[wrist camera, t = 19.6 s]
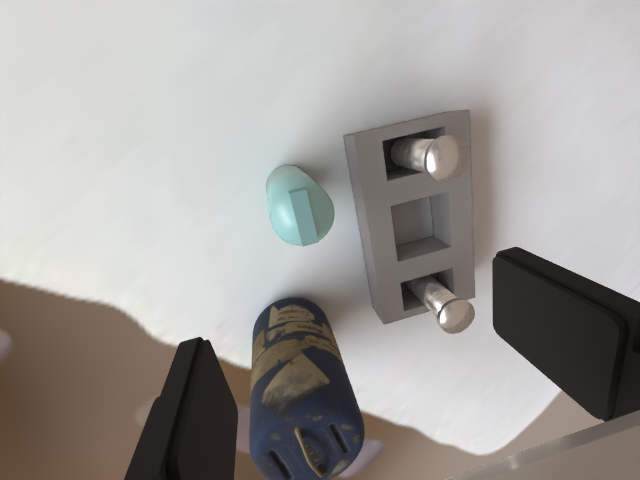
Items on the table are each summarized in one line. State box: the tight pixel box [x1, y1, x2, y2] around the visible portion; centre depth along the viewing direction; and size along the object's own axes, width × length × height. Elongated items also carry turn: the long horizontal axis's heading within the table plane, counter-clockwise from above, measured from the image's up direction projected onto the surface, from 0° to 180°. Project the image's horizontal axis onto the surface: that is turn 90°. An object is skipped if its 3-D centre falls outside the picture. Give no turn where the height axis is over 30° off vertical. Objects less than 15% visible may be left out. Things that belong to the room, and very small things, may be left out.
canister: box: [249, 298, 364, 480], centre depth 32 cm, size 10×10×18 cm
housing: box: [343, 110, 475, 324], centre depth 36 cm, size 22×12×4 cm, turn 12°
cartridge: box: [266, 165, 334, 246], centre depth 28 cm, size 5×5×13 cm
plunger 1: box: [391, 135, 470, 182], centre depth 30 cm, size 4×4×9 cm
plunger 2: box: [407, 274, 475, 334], centre depth 36 cm, size 4×4×9 cm
